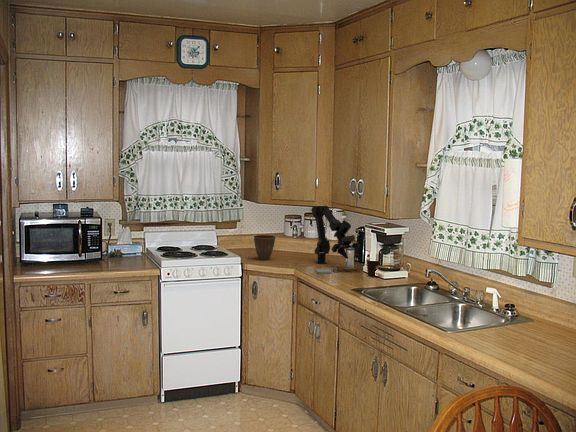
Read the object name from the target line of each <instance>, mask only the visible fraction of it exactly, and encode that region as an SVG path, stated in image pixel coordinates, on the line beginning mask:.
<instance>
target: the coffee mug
mask: <svg viewBox="0 0 576 432" xmlns="http://www.w3.org/2000/svg"><path fill="white" fill-rule="evenodd" d="M370 259H371V258H367V259H366V268H367V277H369V276H371V277H372V278H375V277H374V276H375V271H376V270H377V269H378V267H379V263H380V264H381V262H380V261H370ZM371 277H370V278H371Z"/></svg>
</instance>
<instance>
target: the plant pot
mask: <svg viewBox="0 0 576 432" xmlns="http://www.w3.org/2000/svg"><path fill="white" fill-rule="evenodd" d="M253 242H254V247H255V251H256V255H257V258H258V260H260V261H269V260H270V258H271V256H272V254H273V251H274V246H275V242H276V236H275V235H271V234H258V235H257V234H256V235H253Z"/></svg>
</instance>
